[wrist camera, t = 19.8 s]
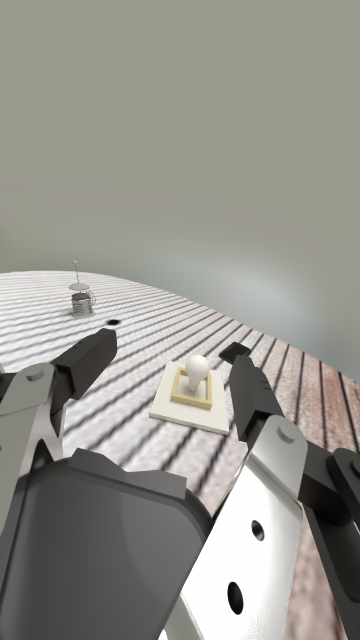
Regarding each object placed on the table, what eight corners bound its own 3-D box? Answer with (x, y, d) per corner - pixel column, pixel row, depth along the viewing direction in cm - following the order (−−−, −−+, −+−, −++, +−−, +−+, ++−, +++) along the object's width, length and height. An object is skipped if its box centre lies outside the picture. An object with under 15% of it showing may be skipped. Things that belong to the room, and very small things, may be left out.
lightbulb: (206, 397, 40) (216, 366, 35) (184, 400, 38) (191, 367, 34) (199, 379, 45) (206, 349, 40) (179, 380, 44) (184, 350, 39)
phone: (251, 349, 64) (236, 365, 54) (250, 351, 65) (235, 368, 54) (234, 341, 69) (217, 354, 59) (233, 343, 69) (217, 356, 59)
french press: (82, 308, 80) (73, 258, 69) (102, 312, 79) (97, 262, 68) (66, 316, 71) (54, 259, 60) (89, 320, 70) (80, 264, 59)
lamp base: (149, 416, 35) (150, 406, 34) (167, 363, 51) (168, 355, 50) (227, 435, 34) (231, 426, 32) (220, 375, 50) (223, 367, 48)
